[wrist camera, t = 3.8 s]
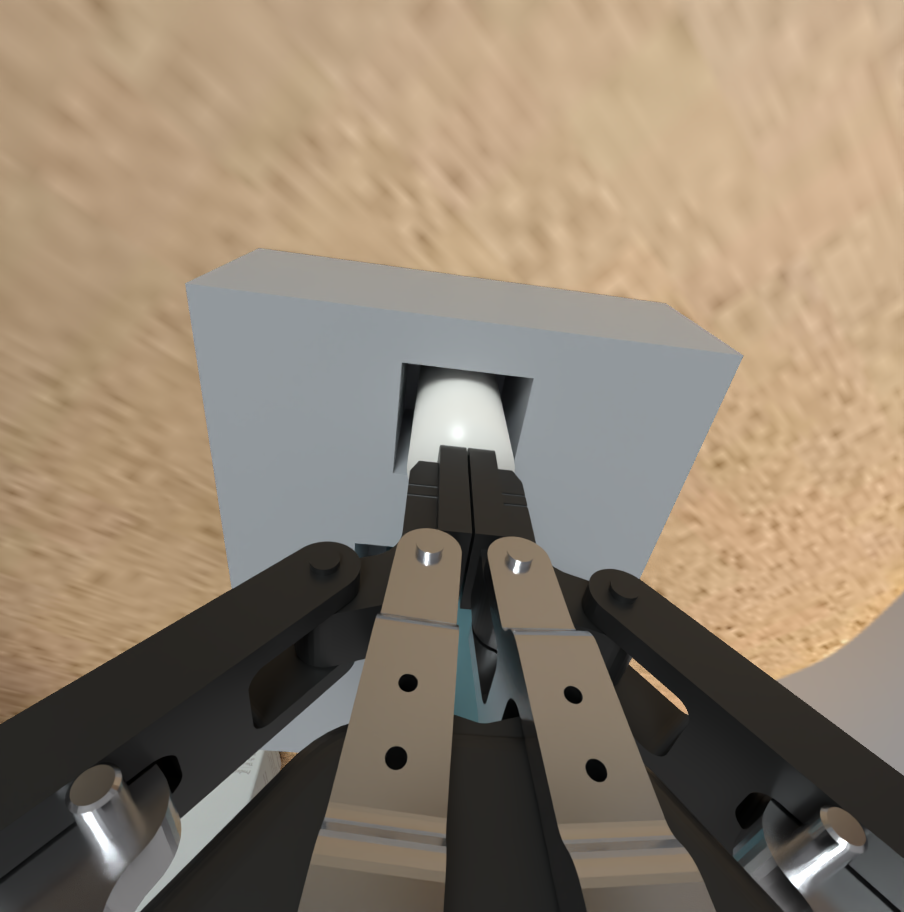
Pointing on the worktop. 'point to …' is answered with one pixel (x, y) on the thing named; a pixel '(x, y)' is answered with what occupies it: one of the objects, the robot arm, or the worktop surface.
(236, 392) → the housing
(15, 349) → the worktop surface
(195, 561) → the worktop surface
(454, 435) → the plunger inner
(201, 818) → the skincare box
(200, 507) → the worktop surface
